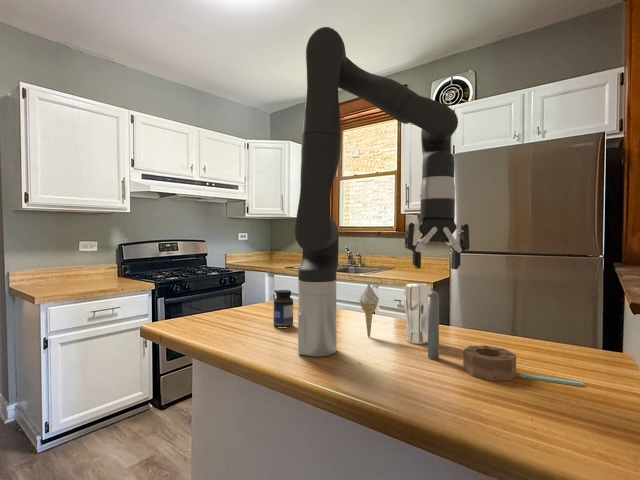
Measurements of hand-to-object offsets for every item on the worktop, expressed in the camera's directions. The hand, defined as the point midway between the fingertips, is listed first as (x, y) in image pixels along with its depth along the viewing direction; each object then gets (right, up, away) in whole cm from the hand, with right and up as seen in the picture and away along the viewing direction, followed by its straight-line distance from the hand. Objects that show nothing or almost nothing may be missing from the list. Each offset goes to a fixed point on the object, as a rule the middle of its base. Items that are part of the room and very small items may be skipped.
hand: (436, 268), depth 80 cm
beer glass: (-1, -20, +12) cm, 24 cm away
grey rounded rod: (-1, -20, -1) cm, 20 cm away
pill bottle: (-38, -21, +28) cm, 52 cm away
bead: (+8, -20, -9) cm, 24 cm away
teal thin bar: (+17, -20, -14) cm, 30 cm away
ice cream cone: (-13, -20, +16) cm, 29 cm away
